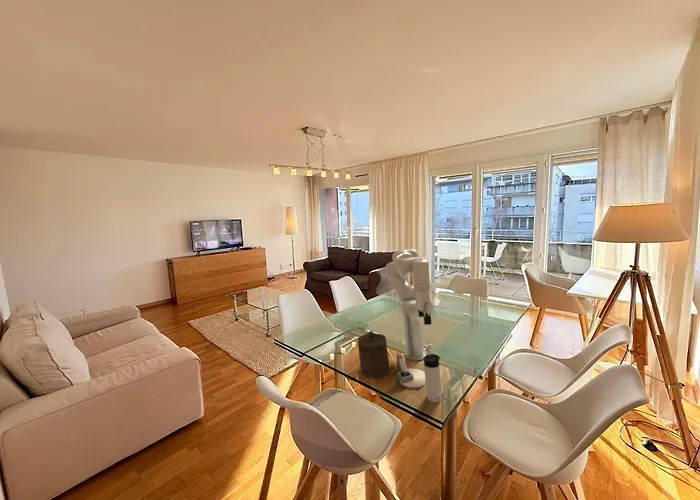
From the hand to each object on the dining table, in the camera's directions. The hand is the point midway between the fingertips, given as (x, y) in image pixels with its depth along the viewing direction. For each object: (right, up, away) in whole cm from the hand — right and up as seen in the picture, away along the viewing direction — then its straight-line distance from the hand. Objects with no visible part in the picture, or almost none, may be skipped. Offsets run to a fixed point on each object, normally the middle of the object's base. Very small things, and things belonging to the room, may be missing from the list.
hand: (424, 320), depth 135 cm
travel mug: (+1, -31, -14) cm, 34 cm away
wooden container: (-23, -30, +12) cm, 39 cm away
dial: (-6, -28, 0) cm, 29 cm away
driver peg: (-9, -27, -2) cm, 28 cm away
